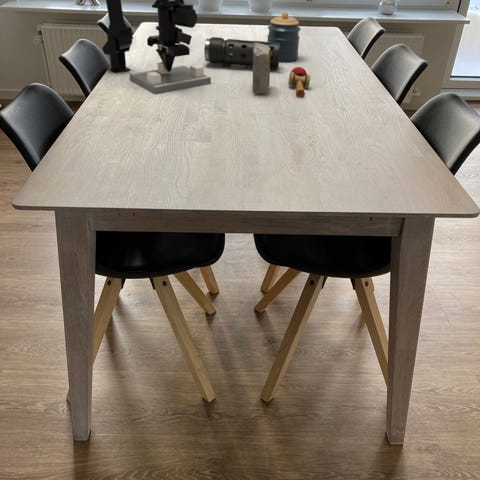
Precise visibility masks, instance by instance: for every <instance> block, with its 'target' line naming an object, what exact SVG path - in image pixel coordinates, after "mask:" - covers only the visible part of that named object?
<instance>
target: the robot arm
mask: <svg viewBox="0 0 480 480" xmlns="http://www.w3.org/2000/svg"><path fill="white" fill-rule="evenodd" d="M105 3H106V8H107V13H108V19H109V20H108V21H109V25H108V28H107V32H106V36H107V41H106V42H105V44H104V45H103V46H102V51H103V54H104V55H107V56H108V57H109V66H106V69H107V70H109V71H110V72H112V73H115V74H116V73H121V72H122V73H123V72H128V71H130V70H131V68H129V67H127V61H126V52H130V50H131V46H132V44H133V40H134V36H133V33H132V32H133V31H132V27H131V26H128V25H127V24H126V23H125V20H124V19H125V18H124V13H123V12H124V11H123V7H122V0H105ZM151 7H152V9H157V21H158V22H157V25H158V26H157V25H156V26H155V30H157V31H158V35H150V36H148V37H147V39H146V41H147V43H146V44H147V46H149V47H153V46H154V45H157V49H155V52H157V54H158V57H159V58H160V60H161V62H163V64H164V66H165V68H166V70H167V71H168V72H170V71H171V69H172V67H173V64H174V62H175V58H176V57H178V58H179V57H183V56H190V52H191V51H190V47H188V46H190V44H191V41H192V35H190V34H187V33H185V32H183V29H182V28H179V27H184V28H189V29H192V28H194V27H195V26H196V25H197V22H198V14H197V11H196V10H195V9H194V4H191V3H190V4H186V2H185V1H184V0H155V1H154V3H153V4H152V5H151Z"/></svg>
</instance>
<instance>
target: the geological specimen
mask: <svg viewBox="0 0 480 480" xmlns="http://www.w3.org/2000/svg"><path fill="white" fill-rule="evenodd" d="M271 55H272V51H271V49H270V48H269V47H268V46H265V45H264V44H259V43H257V42H255V43H254V51H253V67H252V92H253V93H255V94H265V93H268V90H269V87H270V74H271V73H270V72H271V69H270V57H271Z"/></svg>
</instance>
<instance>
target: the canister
mask: <svg viewBox="0 0 480 480" xmlns="http://www.w3.org/2000/svg"><path fill="white" fill-rule="evenodd" d="M299 23H300V21H298V20H297V19H296V18H295V17H293V16H289V13H288V12H287V11H283V12H282V14H281V16H280V15H279V16H275V17H274V18H272V19H270V25H268V26H267V29H268V34H267V41H266V42H279V43H280V44H281V47H280V60H279V63H291V62H292V63H293V62H295V61H297V60H298V56H299V43H300V36H299V35H300V34H299V33H300V31H301V27H300V26H299Z"/></svg>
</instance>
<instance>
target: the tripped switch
mask: <svg viewBox="0 0 480 480" xmlns="http://www.w3.org/2000/svg"><path fill="white" fill-rule="evenodd" d="M156 65H157V70H158V72H160V73H162V74H169V73H171V71H170V72H168V71H167V70H166V68H165V66H164V64H163V62H162V61H160V62H157V64H156Z"/></svg>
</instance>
